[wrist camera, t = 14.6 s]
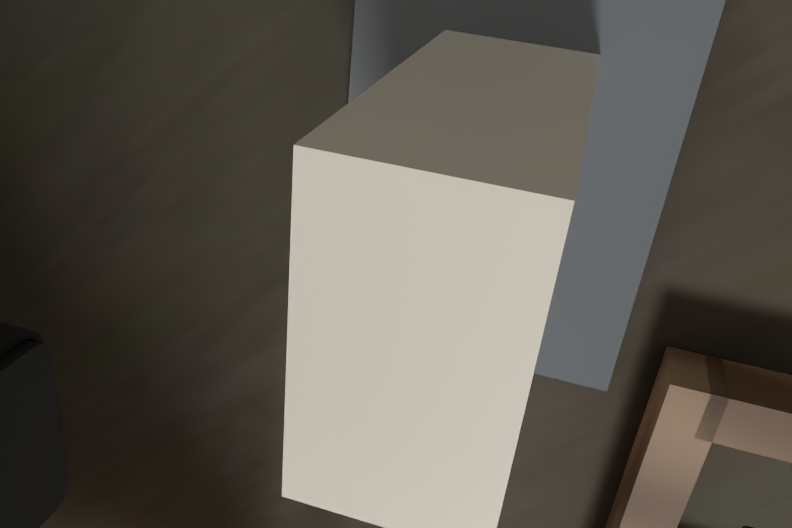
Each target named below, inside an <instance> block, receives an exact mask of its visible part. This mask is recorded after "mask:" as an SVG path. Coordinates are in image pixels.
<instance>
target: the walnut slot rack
mask: <svg viewBox="0 0 792 528" xmlns="http://www.w3.org/2000/svg"><path fill="white" fill-rule="evenodd" d="M712 443H716V444H720V445H724V446H727V447H731V448H735V449H739V450H743V451H747V452H751V453H755V454H759V455H763V456H767V457H771V458H775V459H779V460H782V461H786V462H790V463H792V375H789V374H785V373H781V372H776V371H772V370H768V369H764V368H759V367H755V366H751V365H746V364H742V363H738V362H733V361H729V360H725V359H721V358H716V357H712V356H708V355H703V354H699V353H695V352H690V351H686V350H682V349H677V348H673V347H669V346H667V347H666V350H665V353H664V356H663V359H662V362H661V365H660V368H659V371H658V374H657V377H656V380H655V382H654V385H653V388H652V391H651V394H650V397H649V400H648V403H647V406H646V409H645V412H644V415H643V418H642V421H641V424H640V426H639V429H638V432H637V435H636V438H635V441H634V444H633V447H632V450H631V453H630V456H629V459H628V462H627V465H626V468H625V471H624V473H623V476H622V479H621V482H620V485H619V488H618V491H617V494H616V497H615V500H614V503H613V506H612V509H611V512H610V515H609V517H608V520H607V523H606V526H605V528H677V527H678V524H679V522H680V519H681V517H682V515H683V512H684V510H685V507H686V505H687V502H688V500H689V497H690V495H691V493H692V490H693V488H694V485H695V483H696V480H697V478H698V475H699V473H700V471H701V468H702V466H703V463H704V461H705V458H706V456H707V453H708V451H709V449H710V446H711V444H712Z"/></svg>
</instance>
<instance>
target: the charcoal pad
mask: <svg viewBox="0 0 792 528" xmlns="http://www.w3.org/2000/svg"><path fill="white" fill-rule="evenodd" d="M725 1H726V0H355V11H354V26H353V40H352V55H351V69H350V84H349V98H348V103H349V102H351V101H352V100H353V99H355V98H356V97H357V96H359V95H360V94H361V93H363V92H364V91H365V90H367V89H368V88H369V87H371V86H372V85H373V84H375V83H376V82H377V81H378V80H380V79H381V78H382V77H384V76H385V75H386V74H388V73H389V72H390V71H392V70H393V69H394V68H396V67H397V66H398V65H400V64H401V63H402V62H404V61H405V60H406V59H407V58H409V57H410V56H411V55H413V54H414V53H415V52H417V51H418V50H419V49H421V48H422V47H423V46H425V45H426V44H427V43H429V42H430V41H431V40H433V39H434V38H435V37H436V36H438V35H439V34H440V33H442V32H443V31H444V30H450V31H456V32H462V33H469V34H475V35H481V36H487V37H494V38H500V39H506V40H513V41H519V42H525V43H531V44H538V45H544V46H550V47H556V48H563V49H569V50H575V51H582V52H588V53H594V54H600V61H599V66H598V72H597V78H596V84H595V89H594V95H593V101H592V106H591V112H590V118H589V123H588V129H587V135H586V140H585V146H584V152H583V157H582V163H581V169H580V174H579V180H578V186H577V191H576V197H575V202H574V207H573V211H572V215H571V219H570V223H569V227H568V232H567V236H566V240H565V244H564V248H563V253H562V257H561V261H560V265H559V269H558V273H557V278H556V282H555V286H554V290H553V294H552V299H551V303H550V307H549V311H548V315H547V319H546V324H545V328H544V332H543V336H542V340H541V345H540V349H539V353H538V357H537V361H536V366H535V370H534V374H538V375H542V376H546V377H550V378H555V379H559V380H563V381H567V382H571V383H575V384H579V385H583V386H587V387H591V388H595V389H599V390H603V391H607V390H608V386H609V383H610V380H611V376H612V373H613V370H614V366H615V363H616V360H617V357H618V353H619V350H620V347H621V343H622V340H623V337H624V333H625V330H626V327H627V324H628V320H629V317H630V314H631V310H632V307H633V304H634V301H635V297H636V294H637V291H638V287H639V284H640V281H641V277H642V274H643V271H644V268H645V264H646V261H647V258H648V254H649V251H650V248H651V244H652V241H653V238H654V235H655V231H656V228H657V225H658V221H659V218H660V215H661V212H662V208H663V205H664V202H665V198H666V195H667V192H668V188H669V185H670V182H671V179H672V175H673V172H674V169H675V165H676V162H677V159H678V155H679V152H680V149H681V146H682V142H683V139H684V136H685V132H686V129H687V126H688V123H689V119H690V116H691V113H692V109H693V106H694V103H695V99H696V96H697V93H698V90H699V86H700V83H701V80H702V76H703V73H704V70H705V66H706V63H707V60H708V57H709V53H710V50H711V47H712V43H713V40H714V37H715V34H716V30H717V27H718V24H719V20H720V17H721V14H722V10H723V7H724V4H725Z"/></svg>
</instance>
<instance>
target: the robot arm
mask: <svg viewBox="0 0 792 528" xmlns="http://www.w3.org/2000/svg"><path fill="white" fill-rule="evenodd" d="M67 489H68V476H67V468H66V461H65V453H64V446H63V438H62V431H61V424H60V416H59V409H58V401H57V394H56V387H55V379H54V372H53V364H52V357H51V352H50V349H49V348H48V347H47V346H46V345H45V344H44V341H43V338H42V337H41V335H40V334H39V333H37V332H34V331H31V330H27V329H23V328H20V327H16V326H12V325H9V324H5V323H0V528H39V527H40V526H41V525H42V524H43V523H44V522H45V521H46V520H47V519H48V518H49V517H50V515H51V514H52V513H53V512H54V511H55V510H56V509H57V508H58V507H59V506H60V504H61V503H62V501H63V499H64V498H65V495H66V492H67ZM742 528H753V527H749V526H743V527H742Z"/></svg>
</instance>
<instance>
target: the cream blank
mask: <svg viewBox="0 0 792 528" xmlns="http://www.w3.org/2000/svg"><path fill="white" fill-rule="evenodd" d="M599 61H600V54H594V53H588V52H582V51H575V50H569V49H563V48H556V47H550V46H544V45H538V44H531V43H525V42H519V41H513V40H506V39H500V38H494V37H487V36H481V35H475V34H469V33H462V32H456V31H450V30H444V31H443V32H442V33H440V34H439V35H438V36H436V37H435V38H434V39H433V40H431V41H430V42H429V43H427V44H426V45H425V46H423V47H422V48H421V49H419V50H418V51H417V52H415V53H414V54H413V55H411V56H410V57H409V58H407V59H406V60H405V61H404V62H402V63H401V64H400V65H398V66H397V67H396V68H394V69H393V70H392V71H390V72H389V73H388V74H386V75H385V76H384V77H382V78H381V79H380V80H378V81H377V82H376V83H375V84H373V85H372V86H371V87H369V88H368V89H367V90H365V91H364V92H363V93H361V94H360V95H359V96H357V97H356V98H355V99H353V100H352V101H351V102H349V103H348V104H347V105H345V106H344V107H343V108H342V109H340V110H339V111H338V112H336V113H335V114H334V115H332V116H331V117H330V118H328V119H327V120H326V121H324V122H323V123H322V124H320V125H319V126H318V127H316V128H315V129H314V130H313V131H311V132H310V133H309V134H307V135H306V136H305V137H303V138H302V139H301V140H299V141H298V142H297V143H295V144H294V149H293V179H292V208H291V238H290V267H289V296H288V326H287V355H286V385H285V414H284V443H283V473H282V497H285V498H289V499H292V500H295V501H299V502H302V503H305V504H309V505H312V506H315V507H318V508H322V509H325V510H328V511H332V512H335V513H338V514H342V515H345V516H348V517H351V518H355V519H358V520H361V521H365V522H368V523H371V524H375V525H378V526H381V527H385V528H497V524H498V520H499V516H500V512H501V508H502V504H503V499H504V495H505V491H506V487H507V483H508V478H509V474H510V470H511V466H512V462H513V458H514V453H515V449H516V445H517V441H518V437H519V432H520V428H521V424H522V420H523V416H524V412H525V407H526V403H527V399H528V395H529V391H530V386H531V382H532V378H533V374H534V370H535V366H536V361H537V357H538V353H539V349H540V345H541V340H542V336H543V332H544V328H545V324H546V319H547V315H548V311H549V307H550V303H551V299H552V294H553V290H554V286H555V282H556V278H557V273H558V269H559V265H560V261H561V257H562V253H563V248H564V244H565V240H566V236H567V232H568V227H569V223H570V219H571V215H572V211H573V207H574V202H575V197H576V191H577V186H578V180H579V174H580V169H581V163H582V157H583V152H584V146H585V140H586V135H587V129H588V123H589V118H590V112H591V106H592V101H593V95H594V89H595V84H596V78H597V72H598V66H599Z"/></svg>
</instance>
